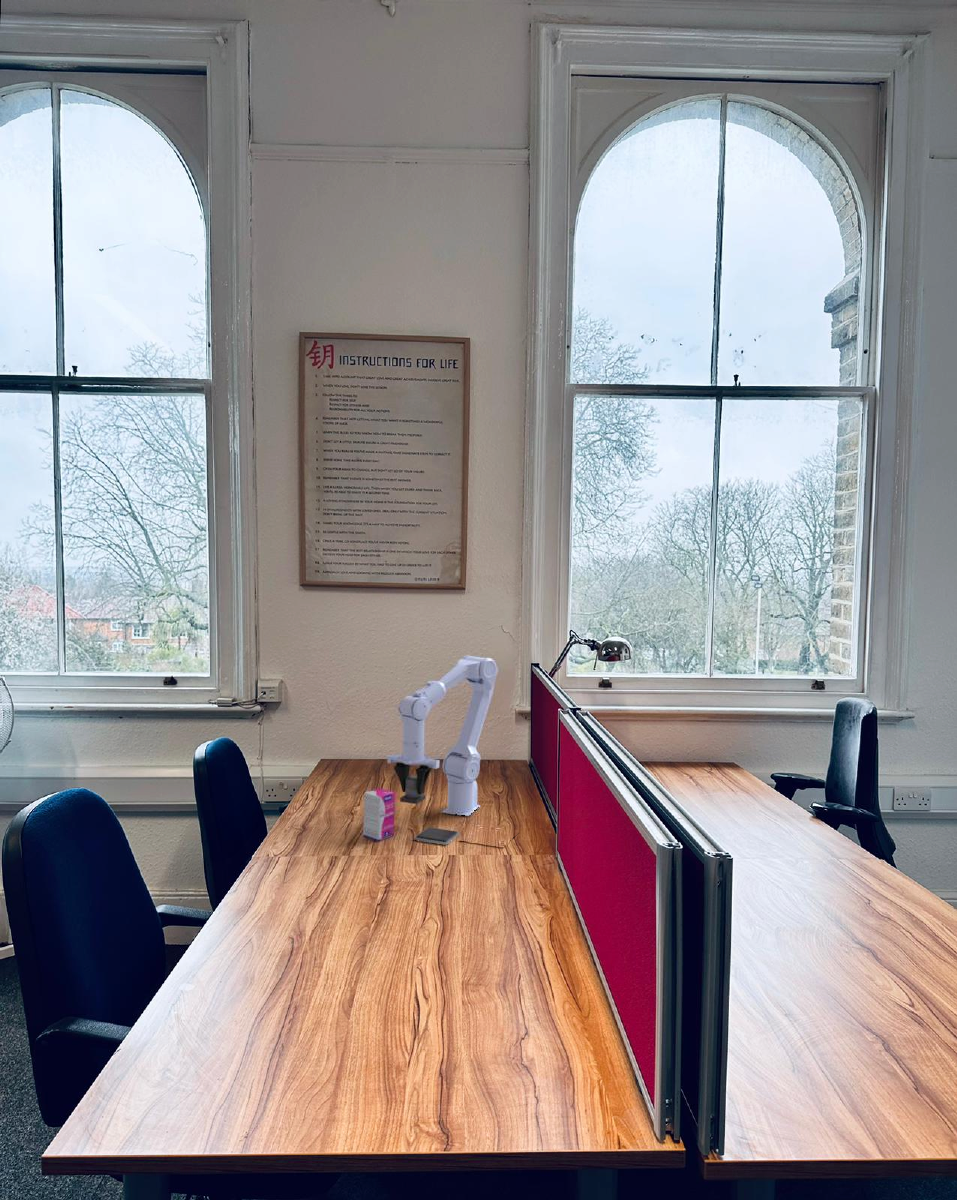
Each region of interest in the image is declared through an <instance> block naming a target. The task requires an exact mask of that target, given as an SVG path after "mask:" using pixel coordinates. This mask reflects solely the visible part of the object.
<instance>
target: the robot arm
mask: <svg viewBox="0 0 957 1200" xmlns="http://www.w3.org/2000/svg"><path fill="white" fill-rule="evenodd" d="M498 673H499V669H498V666H497V663H496V661H495V660H494V659H493V658H491V657H482V656H481V657H479V656H473V655H468V654H467V655H463V657H462V658H461V659H458V660H457V664H456V665H455V666H454V667H452V668H451V670H449V671H448V672H447V673H446V674H445V675H444V676H443V677H442V678H440V679H439V680H438V681H437V680H428V681H426V683H425V684H426V685H425V686H423V687H422V688H420V689H419V690H415V692H414V693H413V694H412V695H407V696H405V697H404V698H402V700H401V701H400V703H399V706H398V707H397V711H398V713H399V716H401V722H402V754H389V755H387V764H395V766H394V767H393V770H394V771H395V773H396V775H397V777H398V779H399V783H400V787H401V790H402V793H405V779H406V777H408V776H410V770H411V766H415V767H417V768H415V774H416V776H417V780H418V794H421V795H423V793H425V787H426V784H427V783H426V782H427V780H428V778H429V775H430V773H431V771H432V770H437V769H439V768H440V760H439V759H435V758H430V757H427V756H425V719H426V718H427V717H428V715H429V713H430V711H431V709H432V708H433V707H435V705H437V704H438V703H439V702H441V701H442V700H443V699H444V698H445V697H446V692H447V691H449V690H450V689H452V688H453V687H455V686H456V685H458V684H459V683H460V682H462V681H464V680H466V681H467V682H468V684H469V685H470V686H471V688H472V690H473V692H472V696H471V699H470V701H469V705H468V709H467V712H466V714H465V719H464V721H463V725H462V727H461V731H460V734H459V737H458V741H457V743H456V744H454V745H453V746H452V747H450V748H449V749H448V753H447V754H446V756H445V757H444V759H443V761H442V771H443V773H444V774H445V775H446V779H447V807H446V808H445V809H443V810H442V811H441V813H443V814H447V815H448V814H449V815H455V814H457V816H461V815H465V816H464V817H469V816H470V815H472V814H473V813H475V811H474V810H476V809H477V808H478V807H479V808H481V805H480V804H478V783H477V781H476V779H477V778H478V776H479V774H480V769H481V768H480V767H481V766H480V764H481V759H482V758H481V754H480V753H479V752H478V749H477V747H478V743H479V739H480V737H481V733H482V731H483V727H484V723H485V720H486V718H487V714H488V710H489V707H490V704H491V701H492V698H493V695H494V689H495V683H496V682H495V681H496V678H497V675H498ZM479 808H478V809H479ZM478 809H477V810H478ZM477 810H476V811H477ZM471 813H472V814H471Z"/></svg>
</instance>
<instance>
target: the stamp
mask: <svg viewBox="0 0 957 1200" xmlns="http://www.w3.org/2000/svg"><path fill="white" fill-rule="evenodd" d="M404 793H405V794H404V795H403V796H401V797H399V802H400V803H406V804H407V803H408V804H414V805H417V804H419V803H421V802H423V801H424V800H426V794H418V780H417V775H409V776H408V777H406V779H405V792H404Z"/></svg>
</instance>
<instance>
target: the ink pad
mask: <svg viewBox="0 0 957 1200" xmlns="http://www.w3.org/2000/svg"><path fill="white" fill-rule="evenodd" d="M458 835H459V836H460V832H459V831H456V830H451V829H450V830H449V829H443V828H436V827H430V826H429V827H426V828H425V829H424V830H422V831H421V832H420V833H418V834H417V835H415V836H414V837H413V840H419V841H418V842H420V841H422V842H421V843H426V842H428V844H432V843H438V844H443V845H442V846H444V845H447V844H448V843H449V844H451V843H452V842H451V840H453V839H454V838H455V837H457V836H458ZM459 836H458V837H459ZM458 837H457V838H458ZM454 840H455V839H454ZM454 840H453V841H454ZM450 842H451V843H450ZM438 844H437V845H438ZM449 844H448V845H449ZM448 845H447V846H448Z"/></svg>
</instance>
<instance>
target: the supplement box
mask: <svg viewBox="0 0 957 1200" xmlns="http://www.w3.org/2000/svg"><path fill="white" fill-rule="evenodd" d="M363 795H364V796H363V799H364V800H363V801H364V802H363V826H362V827H363V830H362V831H363V835H362V837H363V838H365V837H367V838H366V839H369V838H370V839H369V840H372V841H375V840H376V841H375V842H380V841H382V840H385V839H387V838H388V839H389V838H391V837H394V836H395V814H396V813H395V810H396V809H395V807H396V792H394V791H390V790H387V789H384V788H380V787H379V788H376V789H373V790H369V791H366V792H364V793H363Z"/></svg>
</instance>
